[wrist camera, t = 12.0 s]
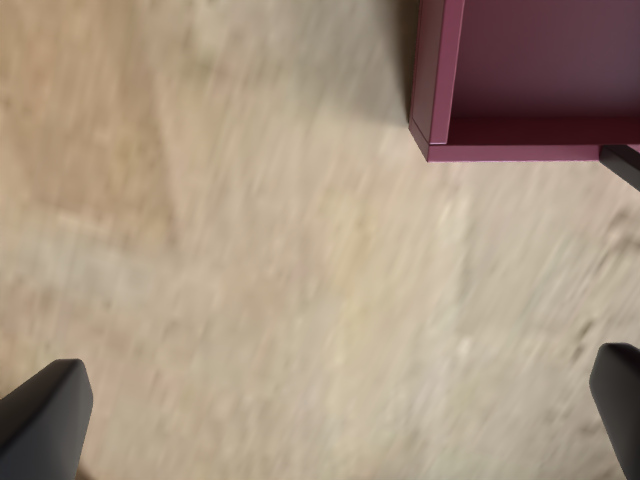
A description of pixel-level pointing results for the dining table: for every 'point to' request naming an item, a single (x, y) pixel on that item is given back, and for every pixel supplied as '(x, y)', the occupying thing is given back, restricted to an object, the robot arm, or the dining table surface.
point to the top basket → (528, 82)
